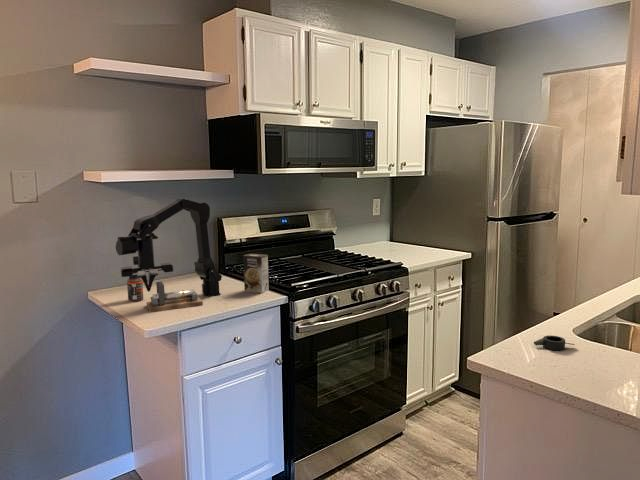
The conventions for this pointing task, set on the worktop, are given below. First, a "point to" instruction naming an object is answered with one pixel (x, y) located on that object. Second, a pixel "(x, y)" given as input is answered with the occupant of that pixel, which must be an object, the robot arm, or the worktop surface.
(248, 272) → the coffee box
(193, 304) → the board
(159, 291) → the slotted grey bracket
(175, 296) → the pipe rig
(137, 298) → the supplement bottle
